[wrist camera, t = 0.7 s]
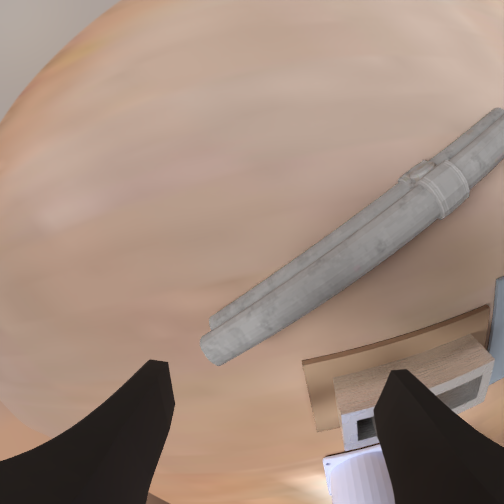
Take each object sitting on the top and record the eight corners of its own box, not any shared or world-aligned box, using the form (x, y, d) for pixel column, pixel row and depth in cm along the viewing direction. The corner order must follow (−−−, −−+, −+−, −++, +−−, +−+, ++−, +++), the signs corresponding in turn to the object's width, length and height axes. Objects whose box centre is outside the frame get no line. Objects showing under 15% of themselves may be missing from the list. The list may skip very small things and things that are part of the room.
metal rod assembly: (234, 334, 21) (223, 378, 16) (209, 306, 20) (190, 345, 15) (503, 134, 15) (545, 132, 10) (486, 102, 14) (528, 93, 10)
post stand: (474, 376, 20) (501, 412, 15) (316, 427, 22) (321, 477, 17) (486, 304, 18) (524, 336, 13) (302, 360, 20) (307, 415, 15)
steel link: (464, 374, 19) (483, 401, 15) (338, 415, 21) (344, 451, 17) (470, 333, 18) (495, 359, 14) (332, 377, 20) (341, 414, 16)
